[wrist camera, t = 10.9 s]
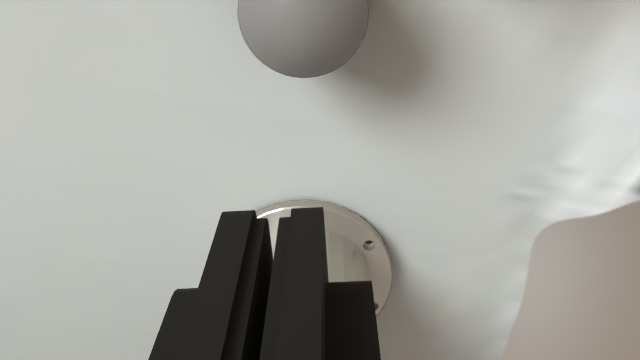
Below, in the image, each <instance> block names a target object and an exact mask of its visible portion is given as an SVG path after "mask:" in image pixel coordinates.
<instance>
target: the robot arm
mask: <svg viewBox="0 0 640 360" xmlns="http://www.w3.org/2000/svg"><path fill="white" fill-rule="evenodd" d="M368 240H369V241H368ZM391 283H392V269H391V261H390V258H389V254H388V251H387V248H386V246H385V244H384V242H383V240H382V238H381V237H380V235H379V234H378V233H377V232H376V231H375V229H374V228H373V227H372V226H371V225H370V224H369V223H368V222H366V221H365V220H364V219H362V218H361V217H360V216H359V215H357V214H355V213H353V212H351V211H349V210H347V209H345V208H344V207H341V206H337V205H334V204H331V203H328V202H322V201H314V200H291V201H286V202H281V203H276V204H273V205H270V206H268V207H265V208H263V209H260V210H258V211H257V212H255V210H250V211H230V212H222V214H221V217H220V220H219V223H218V226H217V229H216V233H215V236H214V239H213V242H212V245H211V249H210V252H209V255H208V258H207V261H206V265H205V268H204V271H203V274H202V277H201V281H200V284H199V287H198V288H190V289H177V290H176V291H175V292H174V293H173V295H172V297H171V300H170V303H169V305H168V308H167V311H166V313H165V316H164V319H163V322H162V324H161V327H160V330H159V332H158V335H157V338H156V341H155V343H154V346H153V349H152V351H151V354H150V357H149V360H381V358H380V349H379V340H378V331H377V322H376V316H377V315H378V314H379V313H380V311H381V310H382V308H383V306H384V305H385V303H386V301H387V299H388V296H389V293H390V290H391Z"/></svg>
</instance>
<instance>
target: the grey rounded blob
mask: <svg viewBox="0 0 640 360" xmlns="http://www.w3.org/2000/svg"><path fill="white" fill-rule="evenodd" d="M238 22H239V26H240V30H241V33H242V36H243V38H244V40H245V42H246V44H247V46H248V47H249V49H250V50H251V52H252V53H253V54H254V55H255V56H256V57H257V58H258V59H259V60H260V61H261V62H262V63H263V64H265V65H266V66H268V67H269V68H271V69H272V70H274V71H276V72H279V73H281V74H284V75H287V76H292V77H299V78H310V77H317V76H321V75H324V74H327V73H329V72H332V71H334V70H335V69H337V68H339V67H340V66H342V65H343V64H344V63H346V62H347V61H348V60H349V59H350V58H351V57H352V56H353V54H354V53H355V52H356V50H357V49H358V47H359V46H360V44H361V42H362V40H363V37H364V35H365V32H366V28H367V23H368V1H367V0H238Z"/></svg>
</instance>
